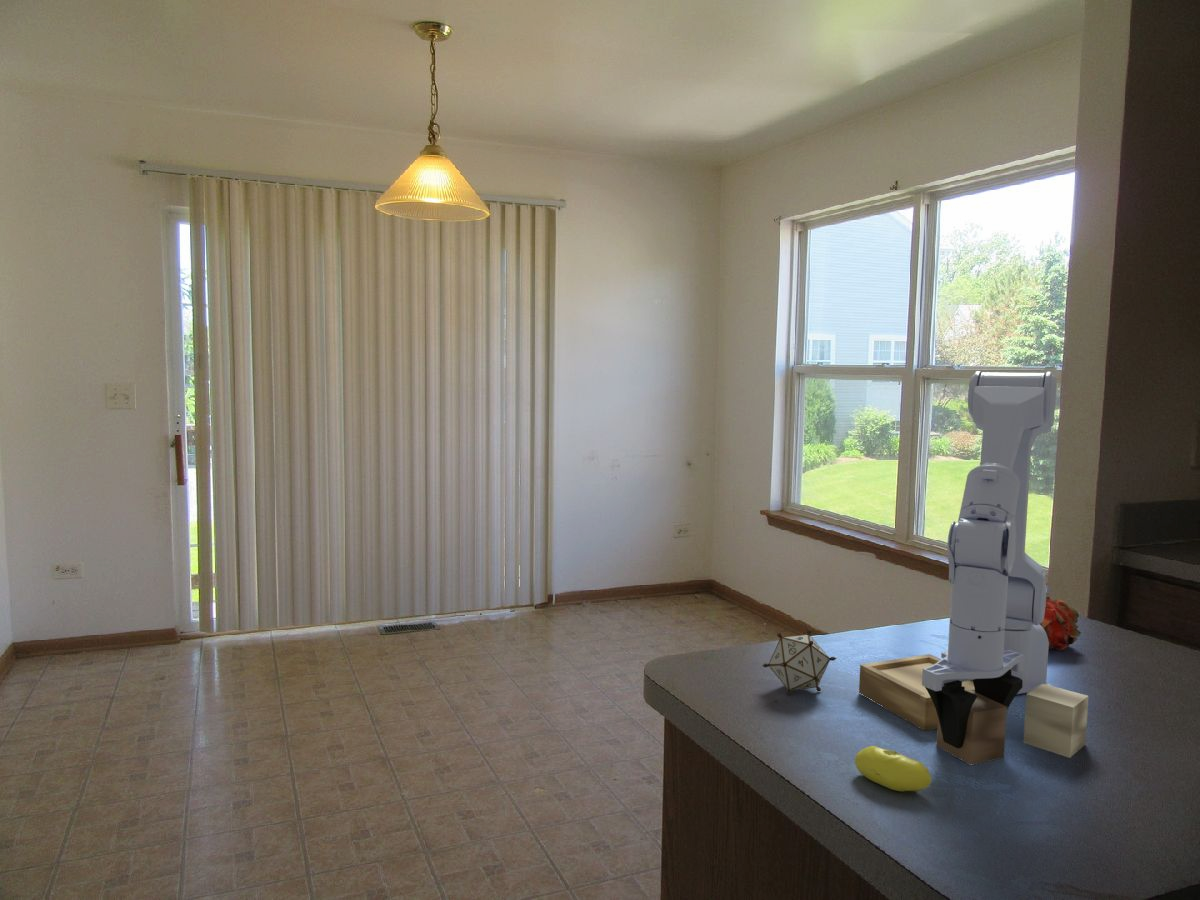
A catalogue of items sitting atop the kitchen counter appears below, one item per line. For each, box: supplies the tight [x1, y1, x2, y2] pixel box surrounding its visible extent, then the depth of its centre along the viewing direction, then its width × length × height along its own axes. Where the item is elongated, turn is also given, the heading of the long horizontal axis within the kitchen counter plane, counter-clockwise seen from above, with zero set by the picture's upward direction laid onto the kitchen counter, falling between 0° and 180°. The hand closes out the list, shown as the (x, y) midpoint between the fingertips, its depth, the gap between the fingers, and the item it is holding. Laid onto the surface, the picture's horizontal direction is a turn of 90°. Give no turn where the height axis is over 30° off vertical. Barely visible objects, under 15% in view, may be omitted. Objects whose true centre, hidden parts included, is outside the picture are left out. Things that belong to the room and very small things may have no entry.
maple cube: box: [1022, 684, 1089, 759], centre depth 95 cm, size 5×5×6 cm
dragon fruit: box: [1040, 596, 1082, 651], centre depth 129 cm, size 8×8×12 cm
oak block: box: [858, 653, 975, 731], centre depth 106 cm, size 12×12×4 cm
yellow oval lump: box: [854, 745, 932, 792], centre depth 85 cm, size 4×8×4 cm, turn 44°
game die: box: [761, 628, 837, 697], centre depth 110 cm, size 9×8×10 cm
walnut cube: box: [936, 690, 1008, 766], centre depth 93 cm, size 5×5×6 cm
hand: (970, 739), depth 93 cm, fingers closed on walnut cube, 5 cm apart
